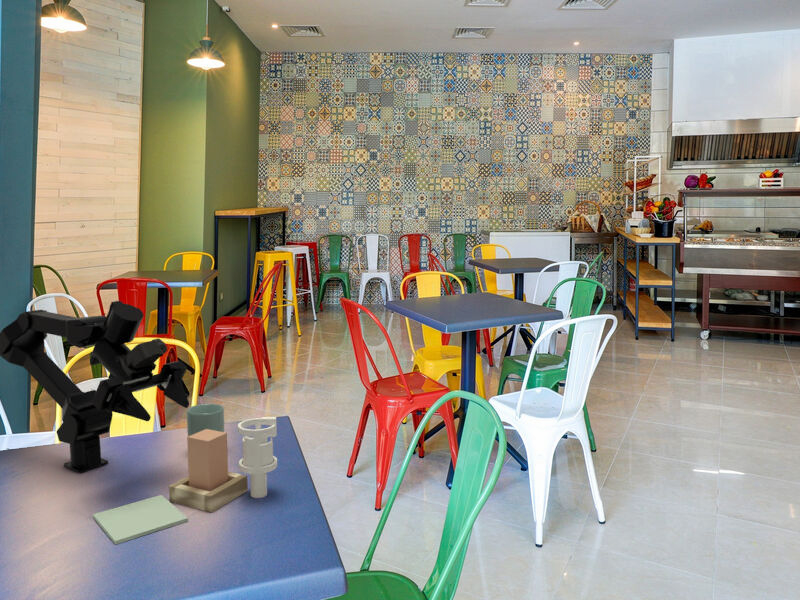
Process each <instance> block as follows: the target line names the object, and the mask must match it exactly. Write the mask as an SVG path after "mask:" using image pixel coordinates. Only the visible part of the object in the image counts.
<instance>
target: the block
mask: <svg viewBox="0 0 800 600" xmlns="http://www.w3.org/2000/svg"><path fill="white" fill-rule="evenodd" d="M186 438H187V463H188V465H187V466H188V476H189V486H190V487H194V488H198V489H202V490H206V491H212V490H214V489H216V488H218V487H219V486H221V485H223V484H225V483H227V482H228V472H229V463H228V462H229V459H228V458H229V457H228V456H229V455H228V433H227V432H225V431H224V432H220V431H215V430H210V429H205V430H203V431H200V432H198V433H196V434H193V435H191V436H188V435H187V437H186Z"/></svg>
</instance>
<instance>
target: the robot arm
mask: <svg viewBox="0 0 800 600" xmlns="http://www.w3.org/2000/svg"><path fill="white" fill-rule="evenodd" d="M143 319H144V312H143V311H142V310H141V308H139V307H136V306H133V304H132V305H131V304H129V303H124V302H123V301H121V300H116V301H111V302H110V305H109V309H108V311H107V314H106V316H105V315H94V316H82V317H76V316H70V315H66V314H61V313H55V312H50V311H48V310H43V309H36V310H28V311H23V312H22V313H20V314H19V315H17V317H16V319H15V320H14V321H12V322H11V323H9V324H8V325H7V326H5V327H4V328H2V329H1V331H0V357H1V358H2V359H4V361H6V362H7V363H9V364H11V365H15V366H18V367H21V368H24V369H25V370H26V372H28V374H30V376H31V377H32V378H33V379H34V380H35V381H36V382H37V383H38V384H39V385H40V386H41V388H42V389H44V390H45V392H46V393H47V394H48V395H49V396H50V397H51V398H52V399H53V401H54V402H56V403H57V405H58V406H59V407H60V408H61V421H62V423H61V425H60V426H59V427H58V429H57V430H56V435H57V438H58V441H59V442H61V443H65V444H69V455H70V456H69V458H70V461H67V462H64V463H63V467H65V468H67V469H69V470H72V471H74V472H76V473H83V472H86V471H89V470H91V469H95V468H99V467H102V466H104V465H108V464H109V460H107V459H105V458H103V457H102V451H101V438H100V436H102V435H104V434H108V433H110V430H111V429H110V428H111V424H112V421H113V413H117V414H120V415H121V414H122V415H124V416H129V417H132V418H136V419H139V420H140V421H141V420H142V421H144V422H149V421H150V420H151V415H150V413H149V412H148V411H147V410H146V408H145V407H144V406H143V405H142V403H140V401H139V400H138V399H137V398H136V397H135V395H134V394H133V393H134V392H136V393H137V392H140V391H142V390H143V391H144V390H147V389H149V388H153V387H157V388H158V389H159V390H160V391H162V392H163V396H165V397H167V398H168V399H170V400H172V401H173V402H175V403H176V404H178V405H180V407H181V406H182V407H183V408H185V409H189V406H190V402H189V399H188V396H187V394H186V391H185V390H184V386H183V382H182V381H183V378H184V376H185V373H186V372H187V369H188V367H187V365H186V364H185V363H184V362H183V361H182V360H177V361H172V362H169V363H164V364H163V365H162V367H161V369H160V371H159V373H157V374H154V373H153V371H155V370H156V368H157V364H156V362H157V360H159V359H160V358H161V357H163V356H164V355H165V353H166V352H167V351H168V346H167V344H166V343H165V342H164V341H163V340H162V339H160V338H153V339H151V340H150V341H145V342H141V343H137V345H135V346H134V347H133V348H132V349H130V348H129V346H128V345H127V344H129V343H131V342H133V341H134V339H135V337H136V335H137V334H138V333H137V332H138V330H139V329H140V325H141V323H142V320H143ZM48 335H53V336H58V337H63V338H65V339H66V343H68V344H70V345H72V346H74V347H77V348H79V349H82V348H88V347H93V349H92V351H90V357H89V358H90V359H89V364H90V366H95V365H99V364H101V365H102V367H103V368H105V370H107V372H108V373H109V375H108V376H107V379H103V380H100V381H99V383H98V386H97V388H96V389H93V390H89V391H83V390H81V389H80V388H79V386H78V385H76V384H75V382H74V381H73V380H72V379H71V378H70V377H69V376H68V375H67V374H66V373H65V371H63V370H62V369H61V368H60V367H59V365H57V364H56V362H54V360H53V359H52V358H51V357H49V355H48V354H47V353H46V352H45V340H46V338H47V337H48Z"/></svg>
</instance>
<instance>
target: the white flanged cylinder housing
mask: <svg viewBox="0 0 800 600" xmlns="http://www.w3.org/2000/svg"><path fill="white" fill-rule="evenodd" d="M262 425H265V426H268V427H266V428H262ZM250 426H255V427H254V428H255V429H249V428H247V427H250ZM277 430H278V429H277V416H270V417H269V416H263V417H257V418H249V419H245V420H243V421H241V422H239V423H238V424H237V432H238V434H239V435H241V436H243V437H242V458H240V460H239V461H238V470H239V471H240V472H241V473H243V474H247V475H249V480H250V497H252V498H254V499H261V498H265V497H267V495H268V474H267V473H270V472H272V471H274V470H275V469H277V468H278V458H277V457H276V456H274V442H273V441H274V438H275V437H277V434H278V433H277ZM268 438H270V441H269V442H268Z"/></svg>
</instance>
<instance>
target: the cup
mask: <svg viewBox="0 0 800 600" xmlns="http://www.w3.org/2000/svg"><path fill="white" fill-rule="evenodd" d="M205 429H210V430H215V431H220V432H225V408H224V405H221V404H219V403H201V404H196V405H195V404H194V405H193V406H191V407H188V408H187V410H186V430H187V437H188V436H191V435H193V434H196V433H198V432H200V431H203V430H205Z"/></svg>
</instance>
